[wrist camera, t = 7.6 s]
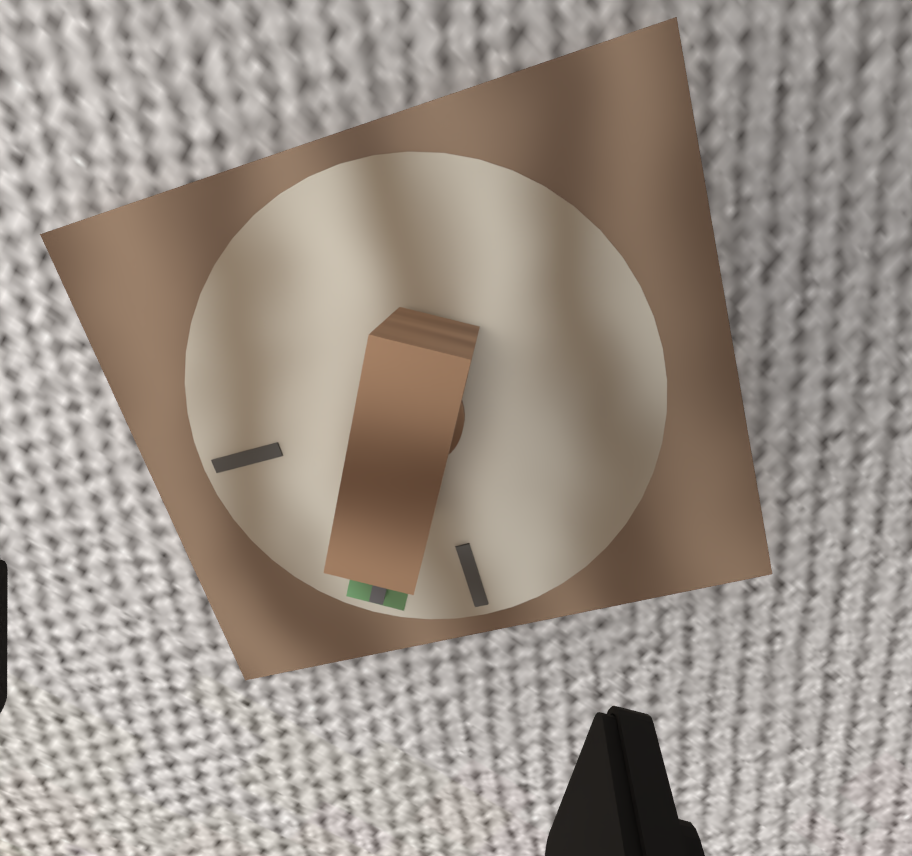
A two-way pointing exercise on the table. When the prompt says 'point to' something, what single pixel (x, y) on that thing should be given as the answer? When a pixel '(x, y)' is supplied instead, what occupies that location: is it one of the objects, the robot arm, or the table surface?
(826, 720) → the table surface
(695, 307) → the dial board
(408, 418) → the wing knob
